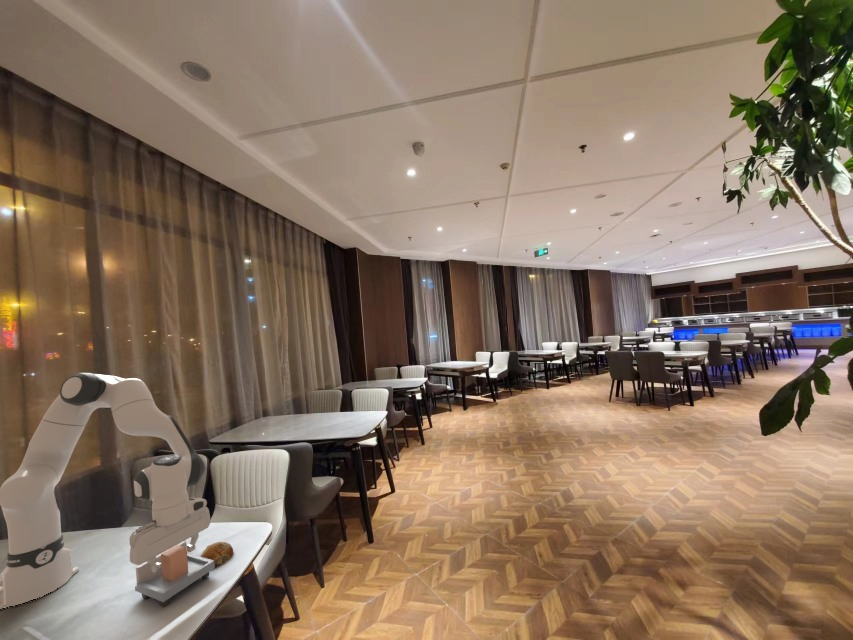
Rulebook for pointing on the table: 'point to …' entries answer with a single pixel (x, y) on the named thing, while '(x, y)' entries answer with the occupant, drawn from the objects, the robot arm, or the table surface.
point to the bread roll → (218, 552)
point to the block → (174, 563)
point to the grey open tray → (164, 589)
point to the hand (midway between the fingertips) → (174, 560)
